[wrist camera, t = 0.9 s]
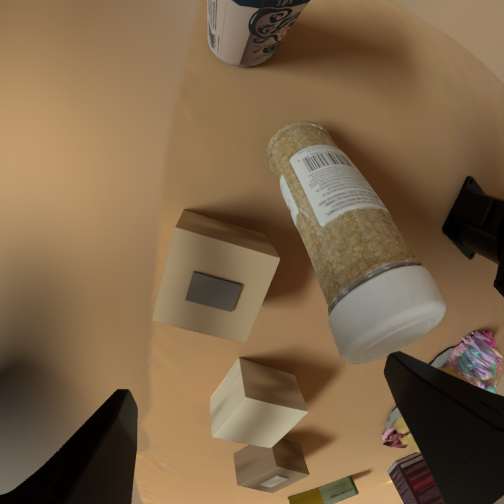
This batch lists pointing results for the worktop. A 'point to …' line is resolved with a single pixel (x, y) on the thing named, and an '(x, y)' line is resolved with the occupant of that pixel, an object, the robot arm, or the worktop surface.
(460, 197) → the robot arm
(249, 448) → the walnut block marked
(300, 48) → the worktop surface
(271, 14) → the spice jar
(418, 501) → the supplement box
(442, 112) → the worktop surface
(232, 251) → the oak block marked
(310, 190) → the granule seasoning jar
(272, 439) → the plain birch block
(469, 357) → the pastel sphere sculpture
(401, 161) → the worktop surface
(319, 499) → the medication box
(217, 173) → the worktop surface
